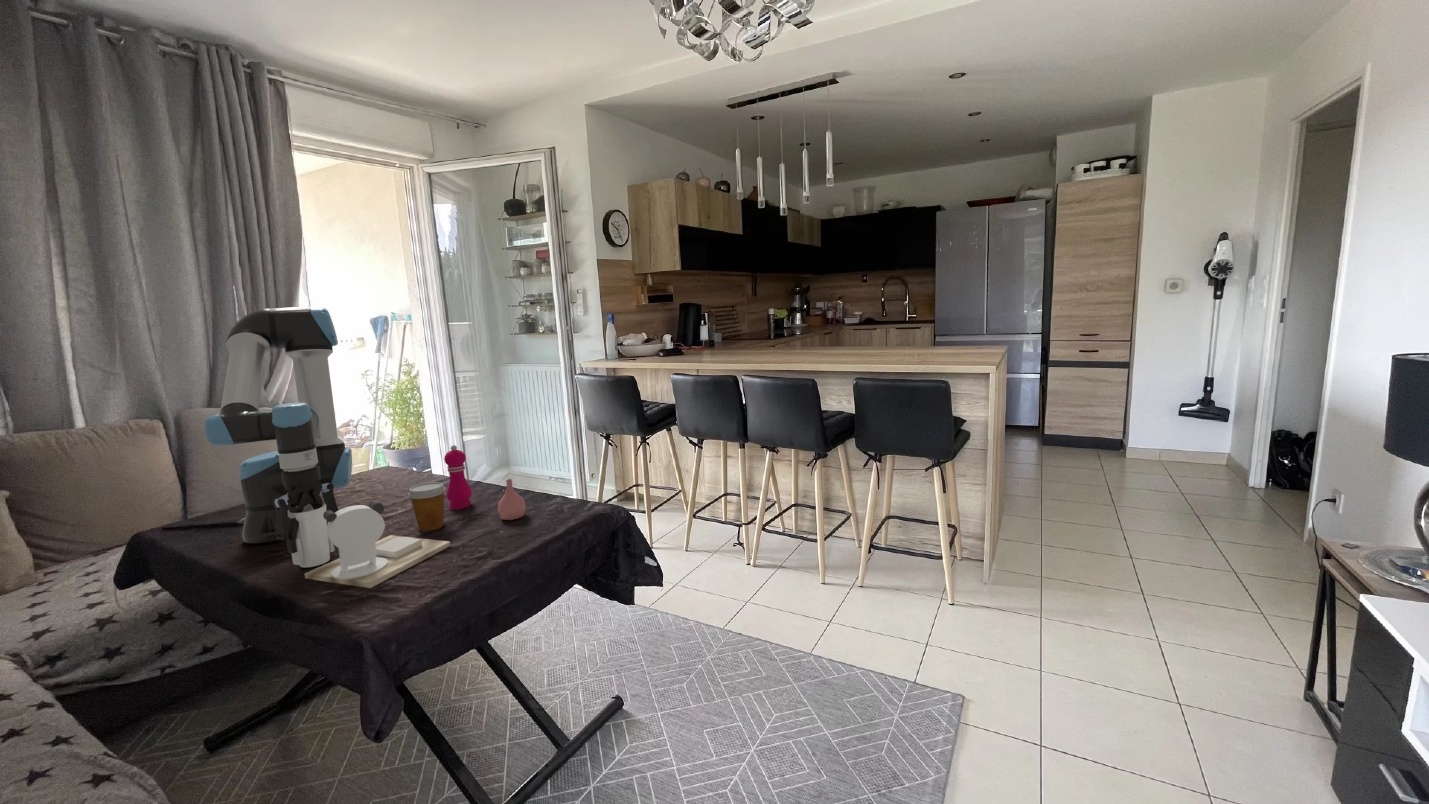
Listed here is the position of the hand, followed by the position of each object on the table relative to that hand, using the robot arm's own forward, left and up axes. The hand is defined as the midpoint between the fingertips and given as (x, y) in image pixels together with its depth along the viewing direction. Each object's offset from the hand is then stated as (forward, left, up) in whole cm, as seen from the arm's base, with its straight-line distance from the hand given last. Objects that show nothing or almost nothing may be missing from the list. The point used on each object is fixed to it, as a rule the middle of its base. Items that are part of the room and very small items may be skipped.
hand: (314, 557), depth 145 cm
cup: (0, 0, -2) cm, 2 cm away
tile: (+13, +9, +1) cm, 16 cm away
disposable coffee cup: (+10, +27, -2) cm, 29 cm away
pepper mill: (+6, +43, -2) cm, 43 cm away
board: (+16, +5, -2) cm, 17 cm away
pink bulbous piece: (+30, +37, -2) cm, 48 cm away
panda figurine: (+17, -1, -1) cm, 17 cm away
